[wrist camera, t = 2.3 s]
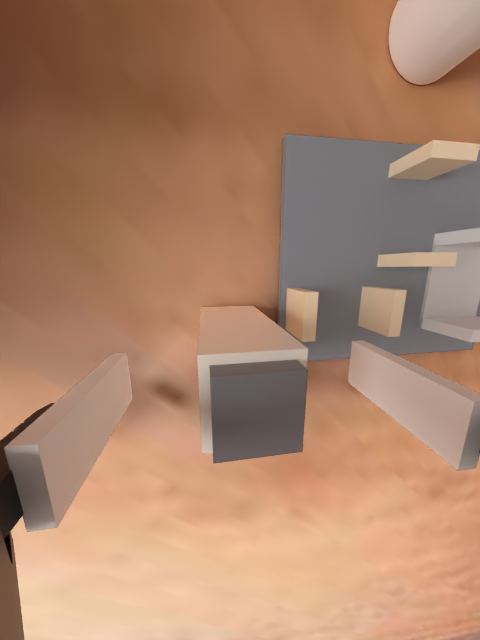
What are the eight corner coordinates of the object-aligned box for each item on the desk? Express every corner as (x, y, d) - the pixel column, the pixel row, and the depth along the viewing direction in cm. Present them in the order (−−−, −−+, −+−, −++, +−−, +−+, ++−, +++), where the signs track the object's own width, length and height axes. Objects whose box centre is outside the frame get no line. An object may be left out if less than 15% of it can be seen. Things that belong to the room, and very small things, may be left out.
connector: (203, 356, 20) (202, 474, 9) (201, 307, 19) (196, 366, 8) (252, 353, 21) (311, 459, 9) (252, 305, 20) (320, 357, 8)
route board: (275, 359, 21) (298, 388, 16) (283, 139, 17) (316, 86, 12) (463, 346, 24) (532, 367, 19) (507, 157, 20) (608, 120, 15)
